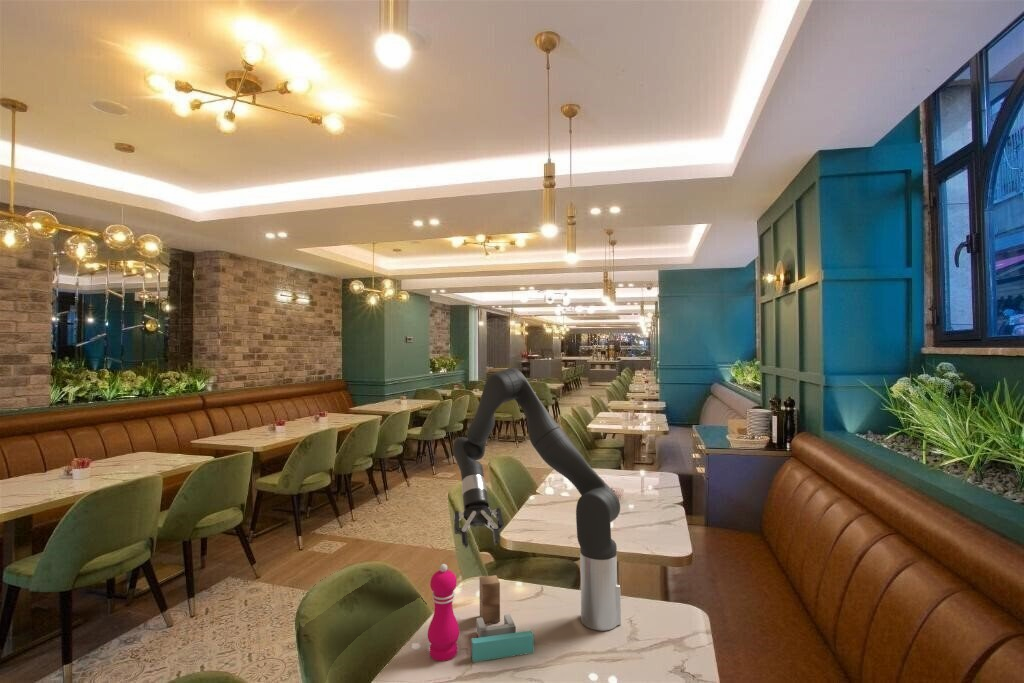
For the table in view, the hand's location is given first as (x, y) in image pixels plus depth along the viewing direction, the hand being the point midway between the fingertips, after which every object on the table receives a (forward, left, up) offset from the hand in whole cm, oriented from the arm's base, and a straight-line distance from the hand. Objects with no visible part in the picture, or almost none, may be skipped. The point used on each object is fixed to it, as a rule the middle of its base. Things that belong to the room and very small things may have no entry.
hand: (481, 545), depth 139 cm
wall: (0, +27, -15) cm, 31 cm away
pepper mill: (+13, +23, -15) cm, 31 cm away
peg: (0, +11, -15) cm, 19 cm away
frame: (0, +19, -15) cm, 24 cm away
